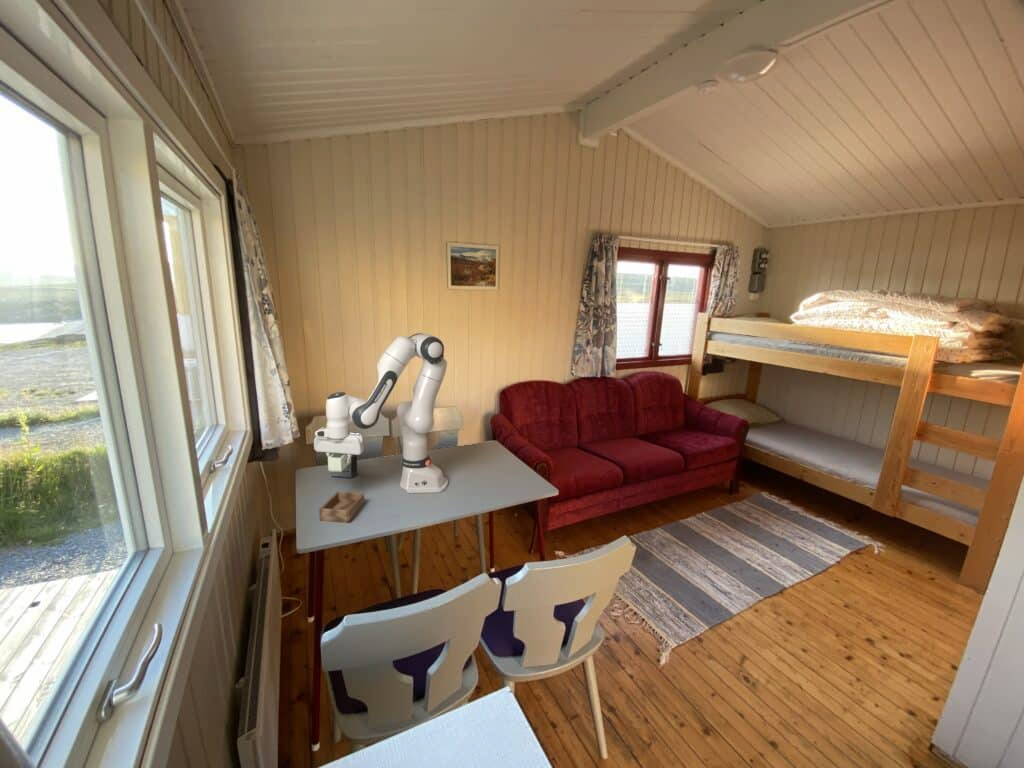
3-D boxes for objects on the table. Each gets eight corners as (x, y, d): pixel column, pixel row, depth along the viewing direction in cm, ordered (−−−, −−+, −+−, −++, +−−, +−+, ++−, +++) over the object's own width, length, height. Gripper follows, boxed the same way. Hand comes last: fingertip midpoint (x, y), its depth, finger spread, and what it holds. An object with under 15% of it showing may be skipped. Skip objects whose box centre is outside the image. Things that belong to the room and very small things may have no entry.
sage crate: (351, 463, 186) (350, 450, 184) (341, 472, 177) (340, 458, 175) (338, 462, 186) (338, 449, 185) (328, 471, 177) (327, 457, 176)
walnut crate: (364, 504, 184) (364, 493, 183) (349, 523, 169) (349, 511, 168) (337, 502, 184) (336, 491, 183) (320, 520, 170) (319, 509, 169)
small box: (358, 473, 212) (357, 453, 210) (352, 479, 206) (351, 458, 204) (337, 471, 213) (336, 451, 211) (331, 477, 207) (330, 457, 204)
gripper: (365, 430, 180) (366, 461, 183) (319, 427, 181) (320, 457, 185) (359, 435, 174) (360, 467, 177) (311, 431, 175) (312, 463, 179)
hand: (339, 462), depth 181 cm, fingers closed on sage crate, 5 cm apart
